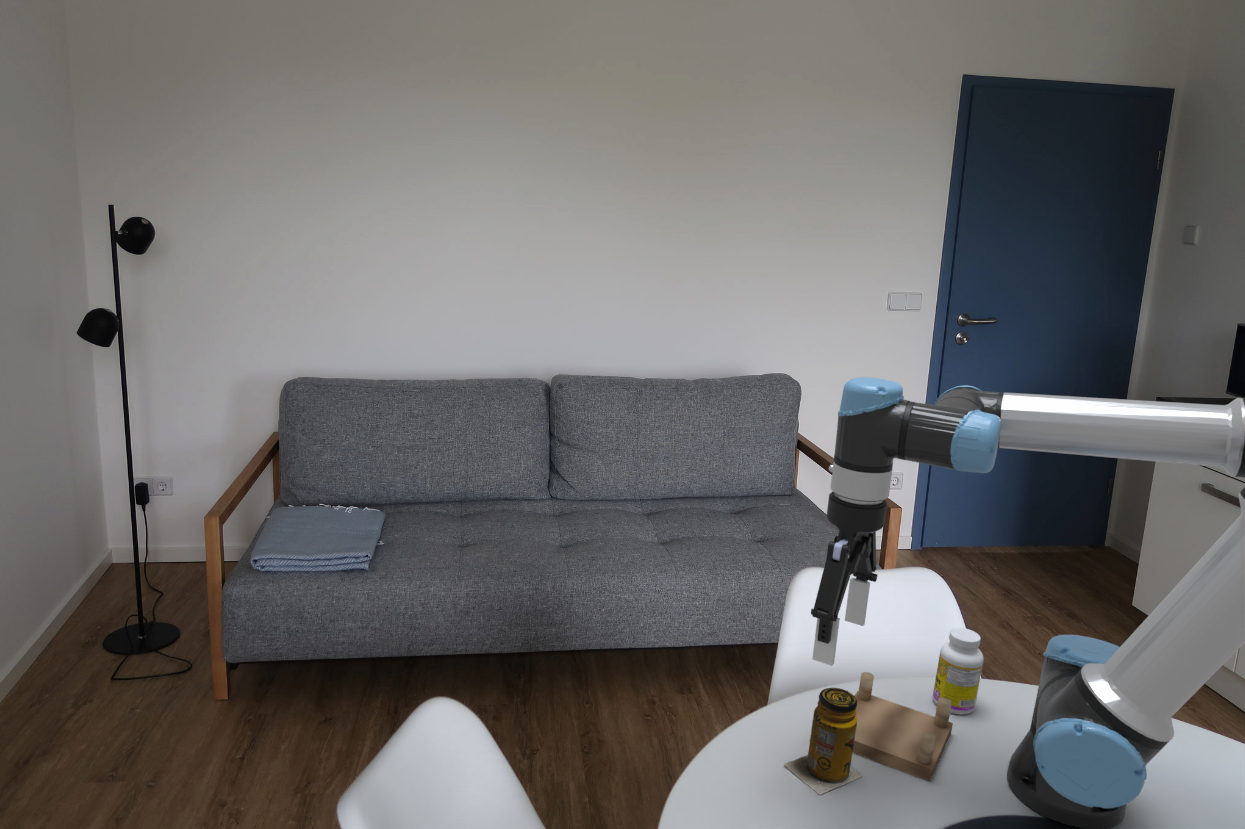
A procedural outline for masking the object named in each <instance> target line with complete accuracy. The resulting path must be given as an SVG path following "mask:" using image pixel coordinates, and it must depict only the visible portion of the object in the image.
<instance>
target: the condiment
mask: <svg viewBox="0 0 1245 829" xmlns="http://www.w3.org/2000/svg"><path fill="white" fill-rule="evenodd" d="M854 695H855V694H853V693H851V692H850V691H848V690H845V689H843V688H841V687H840V688H839V687H826V688H824V689H822V690H821V691H820V692H819V694H818V701H817V706H816V707H815V708H814V711H813V716H812V724H811V729H810V730H811V731H810V738H809V744H808V745H809V747H808V753H807V755H804V756H800V757H799V758H796V759H794V760H791V761H788V762H785V763H783V765H784V766H785V767H786V768H787V770H789V771H790V772H791V773H793V774H794V775H795V777H796V778H798V779H800V780H801V781H802V783H804V784H806V785H807V786H808V787H810V788H811V790H813V791H815V792H816V793H817V794H819V795H820V796H821V795H823V794H825V793H828V792H829V791H831V790H833V789H836V788H839V787H841V786H845V785H846V784H849V783H851V782H854V781H855V780H857V779H860V778H861V777H862V776H863V775H862V774H860V772H858V771H856V770H855V769H854V768H852V767H851V765H852V759H853V746H854V739H855V733H856V727H857V716H856V707H857V699H856V698H855V696H854Z"/></svg>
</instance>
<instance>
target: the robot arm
mask: <svg viewBox="0 0 1245 829" xmlns="http://www.w3.org/2000/svg"><path fill="white" fill-rule="evenodd" d="M903 394H904V388H903V386H902V385H901V384H900V383H899V382H896V381H893V380H888V379H885V378H880V377H879V378H877V377H867V376H866V377H863V376H862V377H855V378H852V379H850V380H848V381H847V382H845V384H844V386H843V390H842V395H841V400H840V406H839V410H838V412H837V426H836V437H835V445H834V446H835V447H834V454H833V463H832V464H829V466H828V470H829V471H828V472H831V473H832V474H831V475H832V476H831V479H830V490H831V491H832V492H830V493H829V494H828V503H827V510H826V518H827V521H829V523H830V524H831V525H833V526H835V527H836V528H837V529H838V533H837V535H835V536H834V540H833V541H832V540H830V541H829V543H828V544H827V552H826V559H825V562H824V567H823V570H822V575H821V578H820V583H819V587H818V590H817V593H816V599H815V602H814V606H813V608H811V610H810V615H812V617H813V618H816V626H815V634H814V642H813V650H812V660H813V661H816V662H818V663H822V664H825V665H828V666H831V667H833V666H834V664H835V658H836V651H837V650H836V649H837V643H838V635H839V627H840V620H841V618H840V617H839V613H840V611H841V607H842V604H843V602H844V601H843V600H844V597H845V594H846V591H847V587H848V593H847V601H846V608H845V613H844V614H845V617H844V622H848V623H852V624H855V625H859V626H860V627H861V626H862V627H864V626H865V624H866V618H867V611H868V610H867V609H868V600H869V594H870V588H871V587H870V586H871V582H872V583H873V582H874V583H876V582H877V579H878V574H877V573H875V572H876V570H877V535H876V532H877V531H880V530H882V529H883V528H884V526H885V523H886V516H887V511H888V510H887V509H888V501H887V500H886V499H888V497H890V492H891V491H890V490H891V482H892V476H893V465H894V459H897V460H901V461H907V462H913V463H918V464H923V465H929V466H934V467H938V468H943V469H944V468H945V469H950V470H956V471H958V472H961V473H965V472H967V473H968V472H969V473H977V474H978V473H979V474H987V473H989V472H991V471H992V470H993V468H994V466H995V462H996V458H997V453H998V450H999V449H1008V450H1009V449H1010V450H1019V451H1020V450H1021V451H1030V452H1031V451H1032V452H1043V453H1057V454H1066V455H1078V456H1079V455H1080V456H1091V457H1101V458H1102V457H1103V458H1111V459H1112V458H1114V459H1123V460H1134V461H1138V460H1139V461H1146V462H1147V461H1148V462H1156V463H1157V462H1158V463H1170V464H1181V465H1182V464H1183V465H1194V466H1203V467H1204V466H1205V467H1216V468H1220V469H1222V470H1223V471H1225V473H1226V474H1227V475H1229V476H1230V477H1233V478H1234V477H1236V478H1244V479H1245V397H1237V398H1235V399H1233V400H1232V401H1231V402H1229V403H1228V404H1205V403H1189V402H1187V403H1186V402H1171V401H1156V400H1155V401H1154V400H1142V399H1140V400H1139V399H1137V400H1136V399H1123V398H1122V399H1119V398H1103V397H1100V398H1099V397H1089V396H1088V397H1087V396H1083V397H1082V396H1073V395H1072V396H1071V395H1053V394H1052V395H1051V394H1036V393H1035V394H1034V393H1020V392H1018V393H1017V392H997V391H987V390H986V391H984V390H982V389H981V388H978V387H975V386H972V385H968V384H967V385H958V386H957V385H956V386H955V387H951V388H950V389H947V390H946V391H944V392H943V393H942V394H940V396H939V397H937V399H936V401H935V402H934V403H933V404H930V403H929V404H928V403H921V402H916V401H911V400H907V399H905V396H904V395H903ZM1237 496H1238V500H1239V505H1240V515H1239V516H1238V517H1237V518H1236V519H1235V520H1234V521H1233V522H1232V524H1231V525H1230V526H1229V527H1228V528H1227V529H1226V530H1225V532H1223V533H1222V534H1221V536H1220V537H1218V539H1217V540H1216V541H1215V543H1214V544H1213V545H1212V546H1211V547H1210V548H1209V549H1208V550H1207V551H1206V552H1205V554H1204V555H1203V556H1201V557H1200V559H1199V560H1198V561H1197V562H1196V564H1194V565H1193V567H1192V568H1191V569H1190V570H1189V571H1188V572H1187V573H1186V574H1185V575H1184V576H1183V578H1181V580H1180V581H1178V583H1177V584H1176V585H1175V586H1174V587H1173V588H1172V589H1171V591H1170V592H1169V593H1167V595H1166V596H1165V597H1164V599H1163V600H1161V601H1160V602H1159V604H1158V605H1157V606H1156V607H1155V609H1153V610H1152V611H1151V613H1150V614H1149V615H1147V617H1145V619H1144V620H1143V621H1142V623H1141V624H1140V625H1139V626H1138V627H1137V628H1136V629H1135V630H1134V631H1133V633H1132V634H1130V635H1129V637H1128V638H1127V639H1126V640H1125V641H1124V642H1123V643H1122V645H1121V646H1119V645H1116V644H1114V643H1111V642H1109V641H1106V640H1101V639H1098V638H1094V637H1091V636H1085V635H1076V634H1058V635H1055V636H1053V637H1051V639H1049V641H1048V642H1047V646H1046V648H1045V651H1044V652H1043V656H1044V659H1043V663H1042V668H1041V672H1040V677H1039V682H1038V688H1037V692H1036V697H1035V702H1034V708H1033V711H1032V712H1033V713H1032V718H1031V721H1030V722H1031V723H1030V728H1029V730H1028V731H1027V733H1026V735H1025V736H1024V737H1023V739H1022V740H1021V742H1020V743H1019V745H1017V748H1016V749H1015V751H1014V752H1013V753H1012V755H1011V757H1010V758H1009V761H1008V762H1009V763H1008V767H1007V771H1006V780H1007V783H1008V786H1009V787H1010V789H1011V791H1012V792H1013V793H1014V794H1015V796H1016V797H1017V798H1018V799H1019V800H1020V801H1021V802H1022V803H1023V804H1024V805H1026V806H1027V807H1029V808H1030V809H1032V810H1033V811H1035V812H1037V813H1038V814H1040V815H1041V816H1043V817H1046V818H1047V819H1050V820H1052V821H1054V822H1057V821H1058V822H1057V823H1059V822H1061V823H1060V824H1062V823H1063V824H1062V825H1065V824H1066V825H1065V826H1069V825H1070V826H1069V827H1072V826H1075V827H1074V828H1077V827H1079V828H1078V829H1110V828H1113V827H1116V826H1118V825H1119V824H1120V823H1121V822H1122V821H1123V819H1124V816H1125V813H1126V807H1127V804H1129V803H1130V802H1132V801H1134V800H1135V799H1136V798H1137V797H1138V796H1139V795H1140V794H1141V793H1142V792H1141V791H1142V790H1143V787H1144V785H1145V781H1146V780H1147V775H1148V774H1147V765H1148V764H1149V763H1150V761H1152V759H1154V758H1155V757H1156V756H1157V755H1158V754H1159V753H1160V752H1161V751H1162V749H1164V747H1165V746H1167V745H1168V743H1169V742H1170V741H1171V740H1172V739H1173V738H1174V737H1175V730H1174V725H1173V720H1172V718H1173V716H1174V715H1175V714H1176V713H1177V712H1178V711H1179V710H1180V709H1181V708H1182V707H1183V706H1184V705H1185V704H1186V703H1187V702H1188V701H1189V700H1190V699H1191V698H1192V697H1193V696H1194V695H1195V694H1196V693H1197V692H1198V691H1199V690H1200V689H1201V688H1202V687H1203V686H1204V685H1205V684H1206V683H1207V682H1208V680H1210V678H1211V677H1213V676H1214V674H1215V673H1217V672H1218V670H1220V668H1222V666H1224V665H1225V663H1226V662H1227V661H1228V660H1229V659H1230V658H1231V657H1232V656H1233V655H1234V654H1236V652H1237V651H1238V650H1240V649H1241V647H1242V646H1243V645H1244V644H1245V486H1244V487H1243V488H1242V489H1241V490H1240V492H1239V493H1238V494H1237ZM851 576H853V577H851ZM848 584H849V585H848Z"/></svg>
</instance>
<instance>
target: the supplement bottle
mask: <svg viewBox="0 0 1245 829" xmlns="http://www.w3.org/2000/svg"><path fill="white" fill-rule="evenodd" d="M948 639H949V641H946V642H945V643H944V644H942V646H941V647H940V650H939V656H938V663H937V668H936V674H935V681H934V686H933V691H932V692H933V693H932V701H933V703H934V704H935V706H937V703H938V699H939V698H947V699H949V700H950V701H951V702H952V705H951V710H950V714H953V715H954V714H955V715H968V714H971V713H972V712H974V710H975V708H976V704H977V698H978V692H979V686H980V681H981V676H982V671H983V665H984V659H985V658H984V655H983V653H982V651H981V649H979V647H980V645H981V636H980V634H979V633H978V632H976V631H974V630H972V629H969V628H964V627H954V628H952V629H951V630H950V631H949V635H948Z"/></svg>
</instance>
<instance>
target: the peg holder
mask: <svg viewBox="0 0 1245 829" xmlns="http://www.w3.org/2000/svg"><path fill="white" fill-rule="evenodd" d="M874 679H875V675H874V674H873V673H871V672H868V671H867V672H866V671H863V672H861V674H860V679H859V680H860V681H859V685H858V686H859V688H858V690H857V691H856V693H855V694H853V695H854V696H855V698H856V699H857V707H856V716H857V727H856V733H855V739H854V746H853V753H854V754H856V755H859V756H861V757H863V758H867V759H869V760H872V761H875V762H877V763H880V764H883V765H884V766H887V767H890V768H893V769H896V770H898V771H901V772H904V773H906V774H908V775H912V776H915V777H916V778H918V779H922V780H925V781H927V782H932V779H933V776H934V774H935V772H936V770H937V767H938V766H939V763H940V760H941V758H942V755H943V754H944V751H945V749H946V746H947V745H948V743H949V740H950V737H951V735H952V729H953V726H954V725H953V724H954V723H953V722H951V721H950V716H951V713H950V710H951V705H952V702H951V701H950V700H949V699H947V698H939V699H938V703H937V705H936V710H935V715H931V714H928V713H925V712H923V711H919V710H916V709H913V708H910V707H908V706H904V705H902V704H899V703H896V702H893V701H891V700H888V699H884V698H881V697H879V696H877V695H876V696H875V695H872V693H873V686H874ZM853 753H852V754H853Z"/></svg>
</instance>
